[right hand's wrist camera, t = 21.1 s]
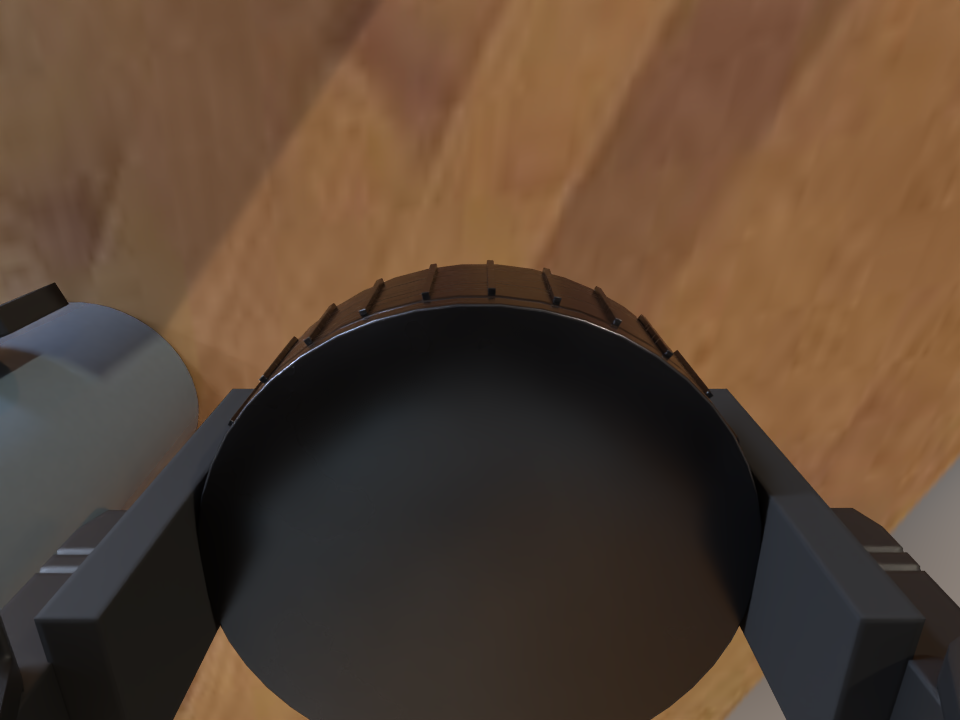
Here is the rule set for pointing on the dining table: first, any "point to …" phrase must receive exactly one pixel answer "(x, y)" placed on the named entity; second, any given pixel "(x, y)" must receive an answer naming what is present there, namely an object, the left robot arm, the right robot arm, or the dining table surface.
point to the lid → (479, 509)
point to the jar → (82, 427)
